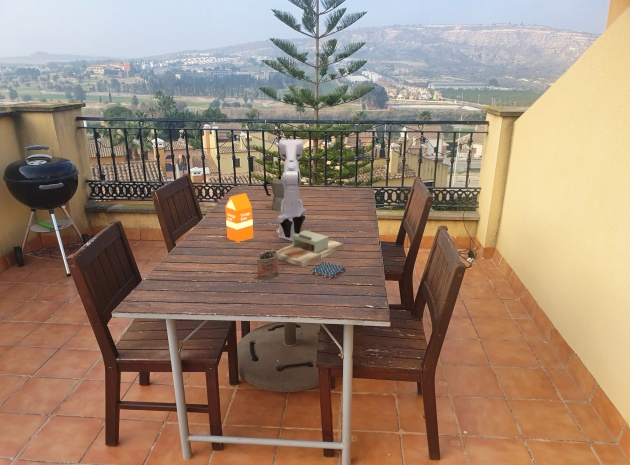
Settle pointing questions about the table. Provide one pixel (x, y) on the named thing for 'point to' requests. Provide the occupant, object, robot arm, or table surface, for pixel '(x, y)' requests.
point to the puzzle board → (306, 253)
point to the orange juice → (239, 218)
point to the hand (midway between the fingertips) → (292, 235)
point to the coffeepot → (276, 192)
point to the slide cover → (311, 240)
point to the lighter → (267, 264)
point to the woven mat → (328, 270)
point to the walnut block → (308, 246)
